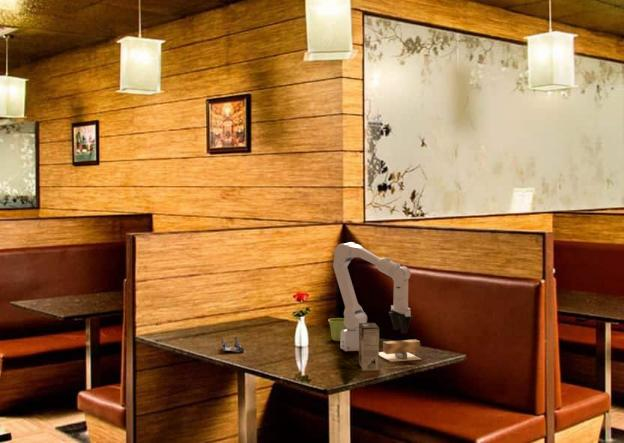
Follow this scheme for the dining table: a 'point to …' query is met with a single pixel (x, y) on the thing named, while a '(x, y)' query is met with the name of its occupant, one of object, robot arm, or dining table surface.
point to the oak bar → (401, 346)
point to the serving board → (393, 358)
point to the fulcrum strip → (401, 355)
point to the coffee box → (368, 346)
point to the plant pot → (336, 327)
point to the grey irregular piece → (228, 347)
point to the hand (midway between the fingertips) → (400, 331)
